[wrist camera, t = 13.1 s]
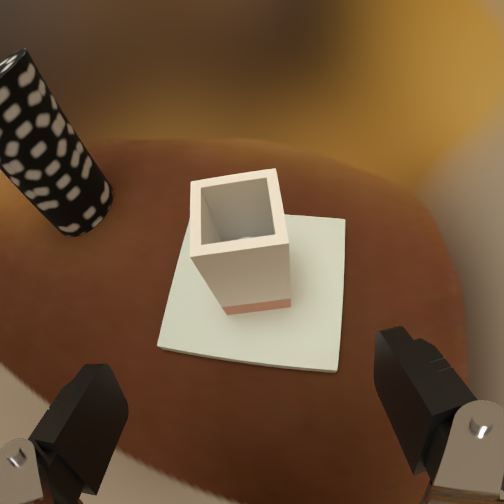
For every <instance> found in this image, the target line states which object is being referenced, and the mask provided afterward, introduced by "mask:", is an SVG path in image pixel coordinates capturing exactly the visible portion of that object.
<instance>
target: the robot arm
mask: <svg viewBox="0 0 504 504" xmlns="http://www.w3.org/2000/svg"><path fill="white" fill-rule="evenodd" d="M374 382H375V387H376V391H377V393H378V396H379V398H380V400H381V402H382V404H383V407H384V409H385V411H386V413H387V415H388V418H389V420H390V422H391V424H392V426H393V429H394V431H395V433H396V436H397V438H398V440H399V442H400V445H401V447H402V449H403V452H404V454H405V456H406V459H407V461H408V463H409V466H410V468H411V470H412V473H413V475H415V474H418V473H421V472H424V471H426V470H427V472H428V475H429V477H430V481H429V483H428V485H427V488H426V490H425V493H424V495H423V498H422V500H421V503H420V504H504V500H500V490H503V491H504V409H503V408H502V407H501V406H500V405H498V404H496V403H494V402H491V401H486V400H479V401H478V400H477V399H476V397H475V396H474V395H473V393H472V392H471V391H470V389H469V388H468V387H467V386H466V384H465V383H464V382H463V380H462V379H461V378H460V377H459V375H458V374H457V373H456V372H455V370H454V369H453V368H451V367H450V364H449V363H448V362H447V360H446V359H444V358H443V356H442V354H441V353H440V352H439V351H438V349H437V348H436V347H435V346H434V345H432V344H430V343H428V342H427V341H425V340H423V339H421V338H420V339H416V340H413V339H412V337H411V336H410V335H409V334H408V332H407V331H406V330H405V328H404V327H402V326H398V327H394V328H390V329H386V330H381V331H377V333H376V336H375V358H374ZM49 408H50V409H49V410H47V411H46V413H45V414H44V416H43V417H42V419H41V420H40V422H39V423H38V425H37V426H36V428H35V429H34V431H33V433H32V434H31V435H30V437H29V438H28V440H27V439H15V440H12V441H10V442H8V443H7V444H5V445H4V446H3V447H2V448H1V449H0V504H83V502H82V501H81V500H80V499H79V497H80V495H81V492H82V493H87V494H91V495H97V493H98V490H99V488H100V485H101V482H102V480H103V477H104V475H105V472H106V470H107V467H108V465H109V462H110V460H111V457H112V455H113V452H114V450H115V447H116V445H117V443H118V440H119V438H120V435H121V433H122V430H123V428H124V426H125V423H126V421H127V418H128V404H127V401H126V399H125V397H124V395H123V393H122V390H121V388H120V386H119V384H118V382H117V380H116V378H115V375H114V373H113V371H112V369H111V367H110V366H109V365H107V364H86V365H84V366H83V367H82V368H81V370H80V371H79V373H78V374H77V375H76V377H75V378H74V379H73V380H72V381H71V382H70V383H68V384H67V385H66V386H65V387H63V388H62V390H61V391H60V393H59V394H58V395H57V397H56V398H55V401H53V403H52V404H51V405H50V407H49Z"/></svg>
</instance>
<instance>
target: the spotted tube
mask: <svg viewBox="0 0 504 504" xmlns="http://www.w3.org/2000/svg"><path fill="white" fill-rule="evenodd" d="M0 169H1V170H2V171H3V173H4V174H5V175H6V176H7V177H8V178H9V179H10V180H11V181H12V183H13V184H14V185H15V186H16V187H17V188H18V189H19V190H20V191H21V192H22V193H23V194H24V195H25V197H26V198H27V199H28V200H29V201H30V202H31V203H32V204H33V205H34V206H35V207H36V208H37V209H38V210H39V211H40V212H41V213H42V214H43V215H44V216H45V217H46V218H47V219H48V220H49V221H50V222H51V223H52V224H53V225H54V226H55V227H56V228H57V229H58V230H59V231H60V232H61V233H62V234H64V235H66V236H70V237H71V236H79V235H82V234H84V233H86V232H88V231H90V230H91V229H93V228H94V227H95V226H96V225H97V224H98V223H99V222H100V221H101V220H102V219H103V218H104V216H105V215H106V214H107V212H108V210H109V208H110V206H111V203H112V199H113V190H112V187H111V185H110V184H109V182H108V181H107V179H106V178H105V176H104V175H103V173H102V172H101V171H100V169H99V168H98V166H97V165H96V163H95V162H94V160H93V159H92V157H91V156H90V154H89V152H88V151H87V149H86V148H85V146H84V145H83V143H82V142H81V140H80V139H79V137H78V136H77V134H76V133H75V131H74V129H73V128H72V126H71V124H70V123H69V121H68V120H67V118H66V116H65V115H64V113H63V112H62V110H61V108H60V107H59V105H58V103H57V102H56V100H55V98H54V97H53V95H52V93H51V92H50V90H49V88H48V86H47V85H46V83H45V81H44V80H43V78H42V76H41V74H40V73H39V71H38V69H37V67H36V66H35V64H34V62H33V60H32V58H31V56H30V55H29V53H28V51H27V49H21V50H19V51H16V52H15V53H13V54H11V55H9V56H8V57H6V58H5V59H3V60H2V61H0Z"/></svg>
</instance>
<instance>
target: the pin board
mask: <svg viewBox="0 0 504 504" xmlns="http://www.w3.org/2000/svg"><path fill="white" fill-rule="evenodd" d="M284 217H285V222H286V228H287V234H288V239H289V253H290V285H291V307H288V308H280V309H273V310H265V311H257V312H249V313H241V314H232V315H226V313H225V312H224V310H223V308H222V307H221V305H220V304H219V302H218V301H217V299H216V298H215V296H214V295H213V293H212V291H211V290H210V288H209V287H208V285H207V284H206V282H205V280H204V279H203V277H202V276H201V274H200V272H199V271H198V269H197V268H196V266H195V264H194V263H193V261H192V260H191V258H190V220H189V224H188V227H187V231H186V234H185V238H184V241H183V245H182V248H181V252H180V256H179V259H178V263H177V267H176V271H175V274H174V278H173V282H172V286H171V290H170V294H169V298H168V302H167V306H166V310H165V314H164V318H163V322H162V326H161V331H160V335H159V339H158V344H157V346H158V347H160V348H162V349H164V350H169V351H174V352H179V353H184V354H190V355H195V356H201V357H207V358H213V359H219V360H225V361H232V362H239V363H246V364H253V365H261V366H269V367H277V368H286V369H296V370H306V371H318V372H331V373H335V372H336V371H337V368H338V358H339V347H340V334H341V321H342V305H343V286H344V258H345V219H336V218H323V217H311V216H297V215H284ZM247 238H253V237H249V236H247V237H242V238H240V239H247Z"/></svg>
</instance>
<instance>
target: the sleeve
mask: <svg viewBox="0 0 504 504" xmlns="http://www.w3.org/2000/svg"><path fill="white" fill-rule="evenodd" d="M247 236H249V237H253V238H247V239H240V238H242V237H247ZM190 258H191V260H192V261H193V263H194V264H195V266H196V268H197V269H198V271H199V272H200V274H201V276H202V277H203V279H204V280H205V282H206V284H207V285H208V287H209V288H210V290H211V291H212V293H213V295H214V296H215V298H216V299H217V301H218V302H219V304H220V305H221V307H222V308H223V310H224V312H225V313H226V315H232V314H241V313H249V312H257V311H265V310H273V309H280V308H288V307H291V285H290V253H289V239H288V234H287V228H286V222H285V217H284V211H283V205H282V200H281V194H280V189H279V184H278V178H277V173H276V168H275V169H267V170H260V171H253V172H247V173H240V174H234V175H227V176H221V177H215V178H209V179H203V180H198V181H192V182H191V196H190Z"/></svg>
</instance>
